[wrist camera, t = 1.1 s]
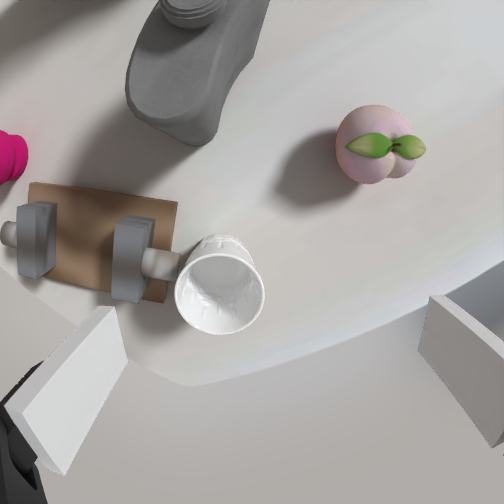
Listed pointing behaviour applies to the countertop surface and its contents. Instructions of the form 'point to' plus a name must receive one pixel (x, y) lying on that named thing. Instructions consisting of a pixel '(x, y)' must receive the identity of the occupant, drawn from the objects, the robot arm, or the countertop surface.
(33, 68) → the countertop surface
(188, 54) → the flask
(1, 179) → the pepper mill
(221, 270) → the white cup
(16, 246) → the block
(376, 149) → the decorative fruit
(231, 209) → the countertop surface
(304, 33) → the countertop surface
